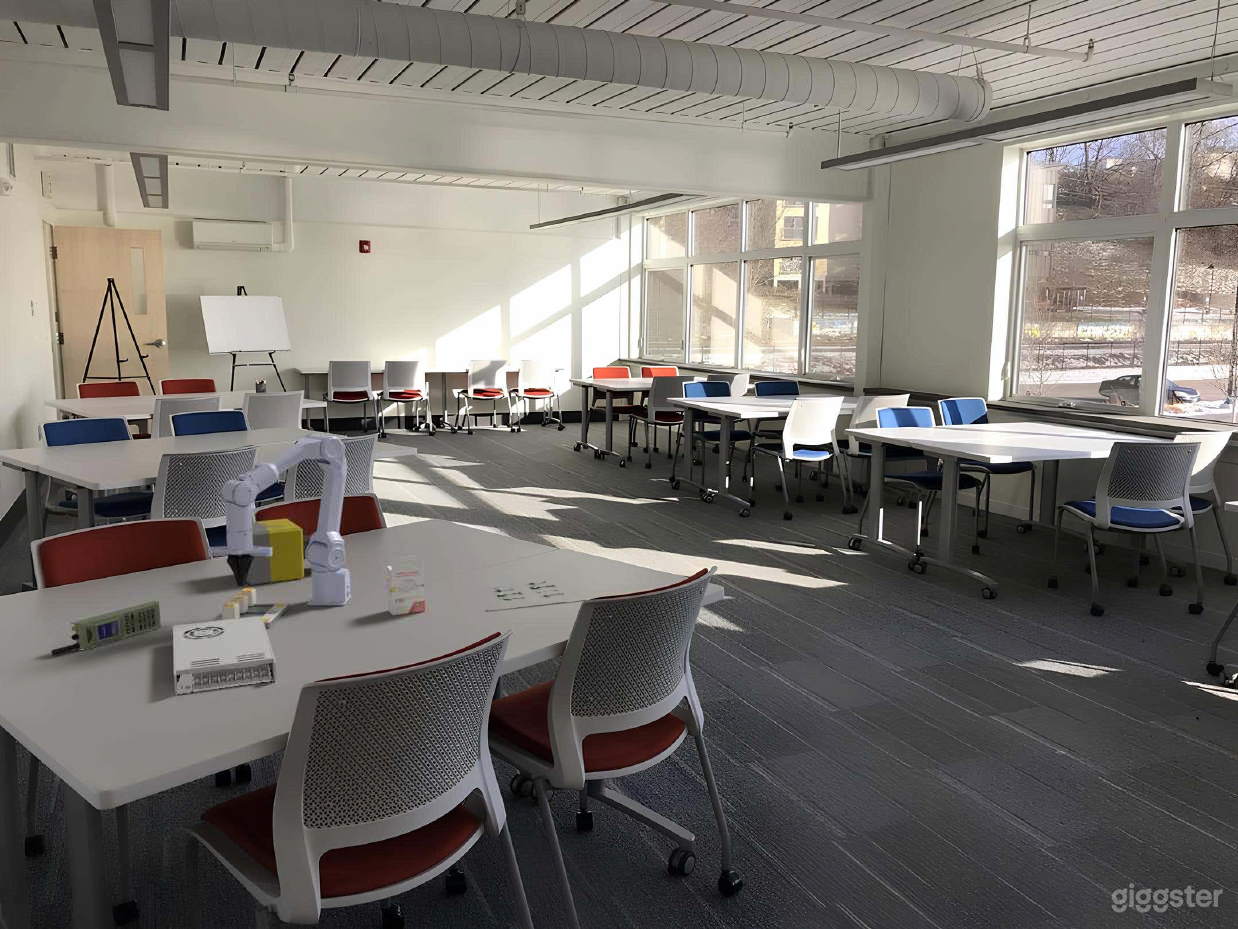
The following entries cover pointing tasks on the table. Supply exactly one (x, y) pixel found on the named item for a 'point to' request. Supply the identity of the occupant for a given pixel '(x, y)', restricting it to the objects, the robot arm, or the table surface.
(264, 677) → the power supply unit
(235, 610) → the switch near
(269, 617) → the switch unit
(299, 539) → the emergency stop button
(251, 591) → the switch far
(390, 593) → the ink cartridge box
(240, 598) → the switch mid
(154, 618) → the handheld radio
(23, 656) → the table surface
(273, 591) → the table surface
